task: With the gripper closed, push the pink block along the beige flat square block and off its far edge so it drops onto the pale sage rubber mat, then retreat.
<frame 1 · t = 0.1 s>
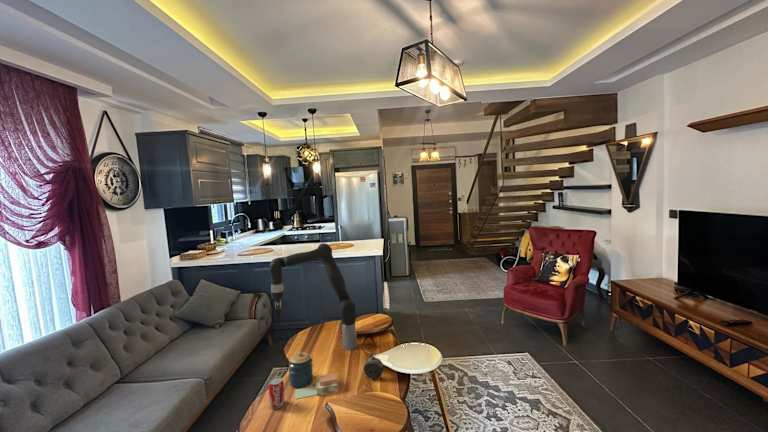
hand: (278, 315, 204), 29 cm above the table, fingers open, 8 cm apart
alarm clock: (373, 379, 181), on the table
mat: (305, 392, 171), on the table
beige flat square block: (326, 388, 174), on the table
soda can: (277, 405, 161), on the table
pink block: (328, 381, 174), point 4 cm above the table, touching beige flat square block
canister: (301, 381, 181), on the table
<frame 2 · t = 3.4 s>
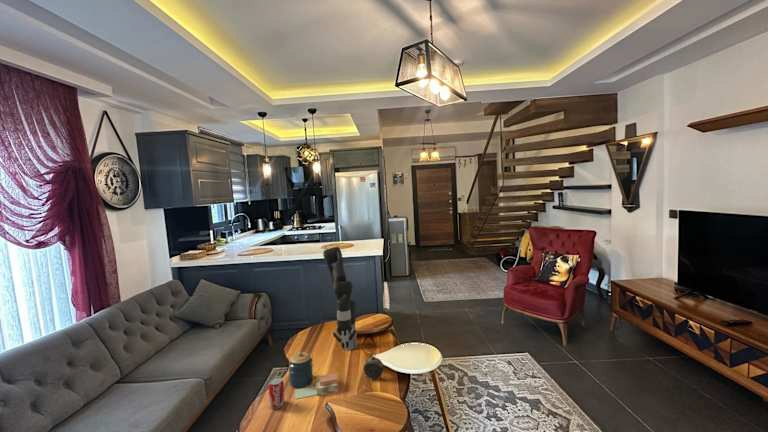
hand: (345, 347, 175), 21 cm above the table, fingers closed
nothing on the table moved.
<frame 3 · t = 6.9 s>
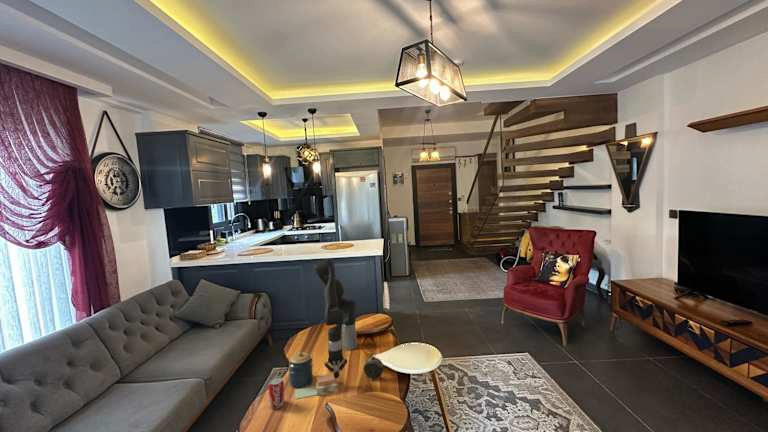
hand: (336, 377, 175), 5 cm above the table, fingers closed
pink block: (326, 381, 173), point 4 cm above the table, touching gripper
everything else where it was.
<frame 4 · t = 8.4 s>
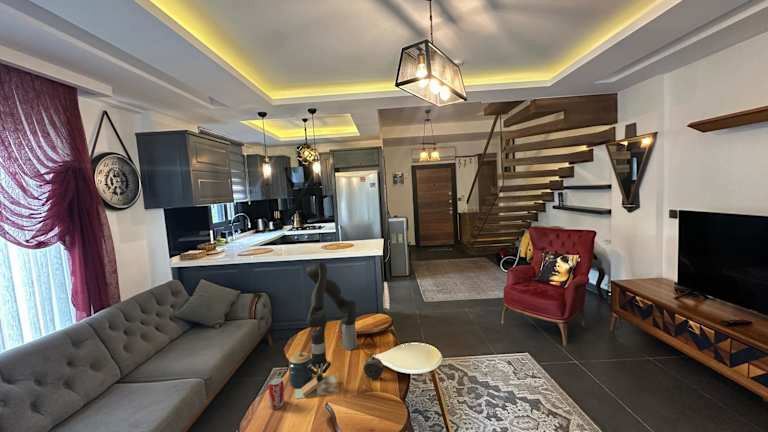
hand: (319, 380, 172), 5 cm above the table, fingers closed
pink block: (311, 387, 170), point 3 cm above the table, tilted 30°, touching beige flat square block, mat
everything else where it was.
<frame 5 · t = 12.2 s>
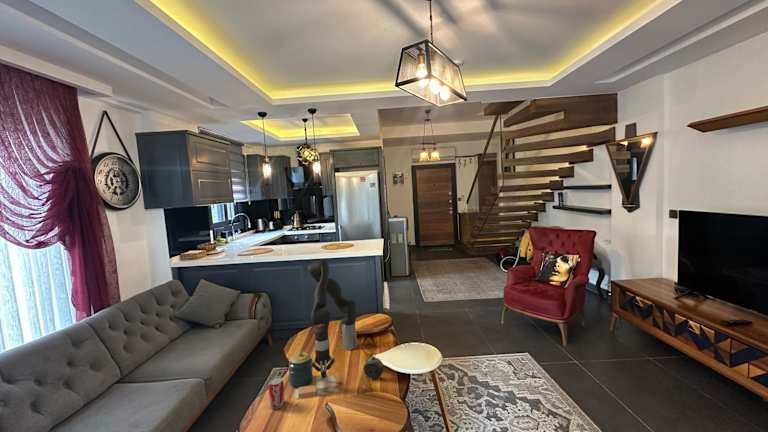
hand: (323, 377, 173), 7 cm above the table, fingers closed
pink block: (307, 392, 170), resting on mat
everything else where it was.
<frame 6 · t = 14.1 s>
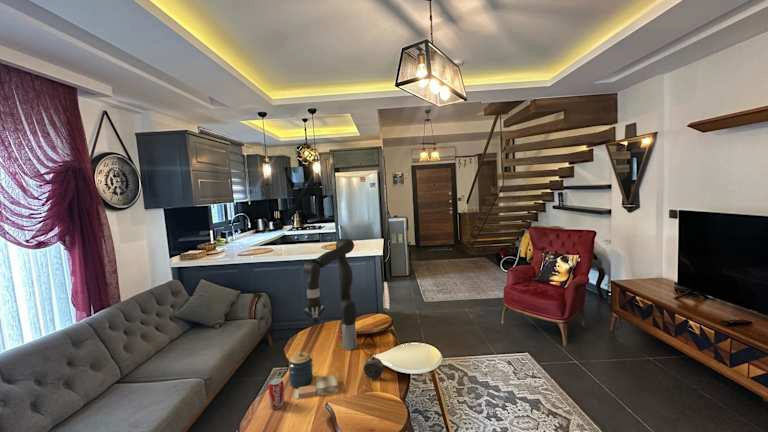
hand: (315, 323, 193), 28 cm above the table, fingers closed
nothing on the table moved.
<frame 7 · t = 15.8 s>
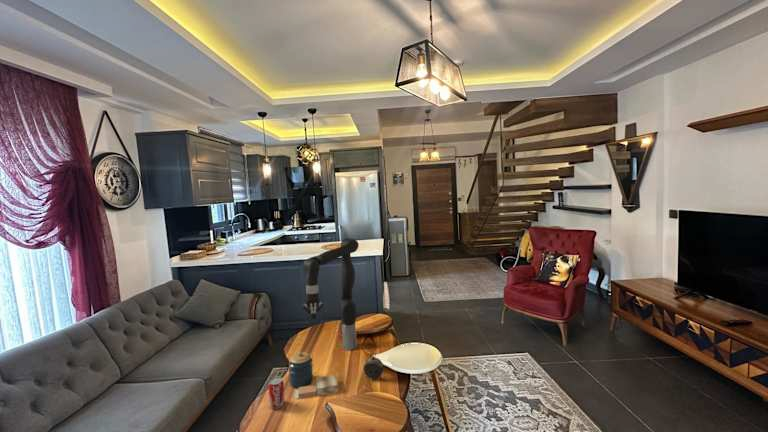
hand: (313, 318, 197), 29 cm above the table, fingers closed
nothing on the table moved.
at the end: pink block resting on mat; pink block inside the target area on the mat (1.2 cm from its centre), point 0.3 cm above the mat's base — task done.
